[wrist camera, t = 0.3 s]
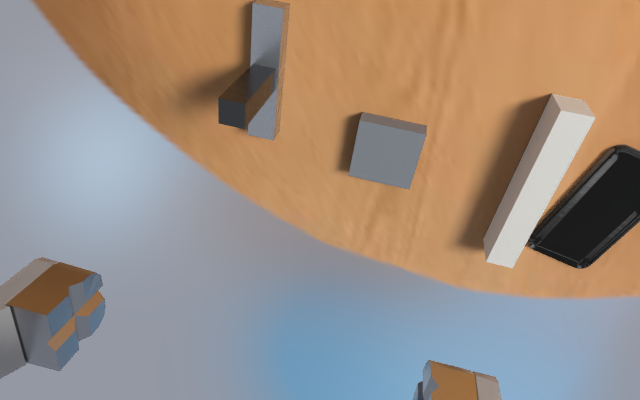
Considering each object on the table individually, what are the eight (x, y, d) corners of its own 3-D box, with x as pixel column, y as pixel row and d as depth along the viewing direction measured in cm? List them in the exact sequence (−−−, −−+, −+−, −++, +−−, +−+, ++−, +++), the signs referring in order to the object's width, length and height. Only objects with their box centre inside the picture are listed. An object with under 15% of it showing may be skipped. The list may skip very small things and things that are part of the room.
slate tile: (363, 110, 48) (359, 120, 46) (426, 124, 48) (426, 134, 46) (351, 164, 52) (348, 175, 50) (410, 177, 52) (409, 189, 50)
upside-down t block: (260, -3, 44) (214, 27, 34) (290, 3, 43) (251, 35, 34) (255, 124, 52) (216, 176, 43) (279, 130, 52) (245, 183, 42)
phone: (524, 245, 52) (620, 144, 43) (523, 239, 53) (616, 139, 44) (584, 271, 53) (691, 177, 44) (581, 265, 54) (686, 171, 45)
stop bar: (551, 93, 43) (561, 110, 40) (583, 99, 42) (595, 117, 39) (483, 239, 54) (486, 261, 51) (507, 245, 54) (512, 268, 51)
